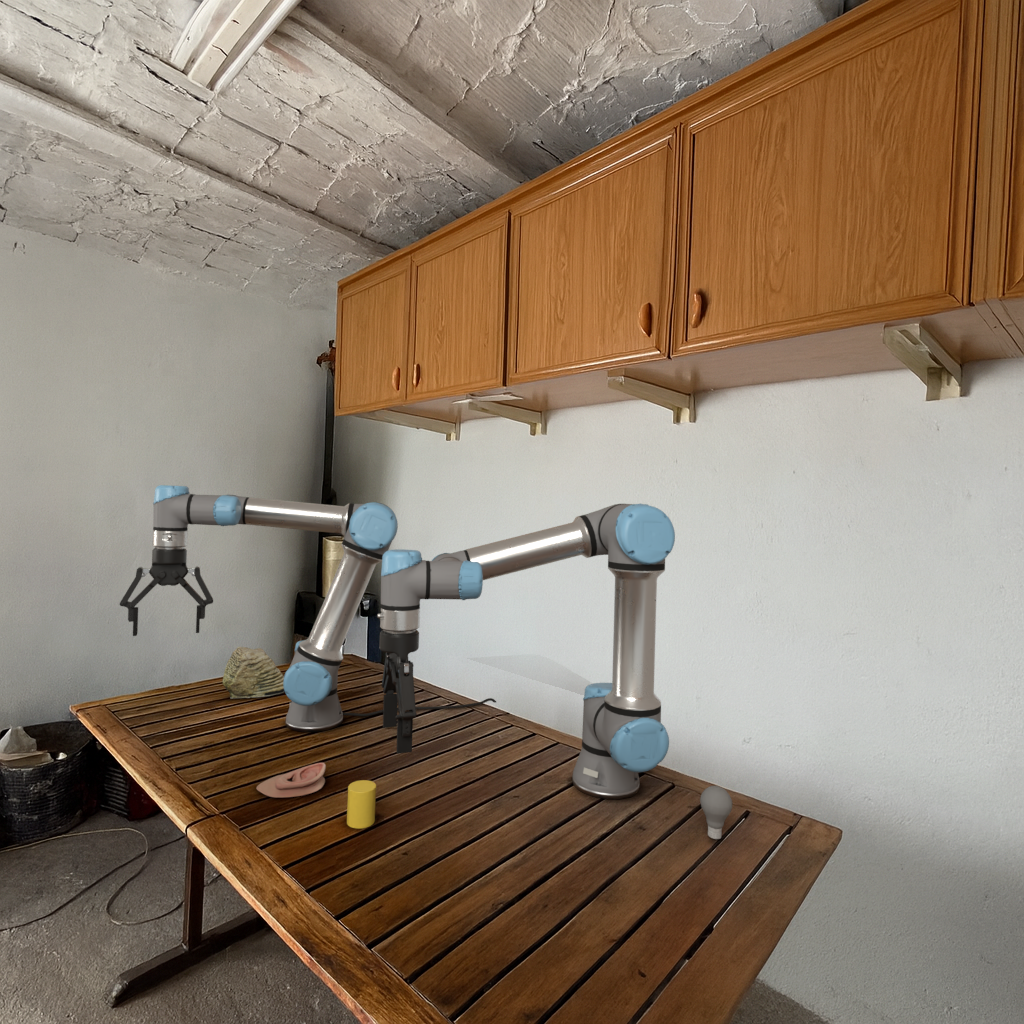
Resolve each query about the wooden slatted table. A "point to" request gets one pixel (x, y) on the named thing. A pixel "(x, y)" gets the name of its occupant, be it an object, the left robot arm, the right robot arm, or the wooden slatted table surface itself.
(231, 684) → the fossil
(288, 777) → the anatomical model
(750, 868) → the wooden slatted table surface
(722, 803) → the light bulb
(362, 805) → the cylinder
